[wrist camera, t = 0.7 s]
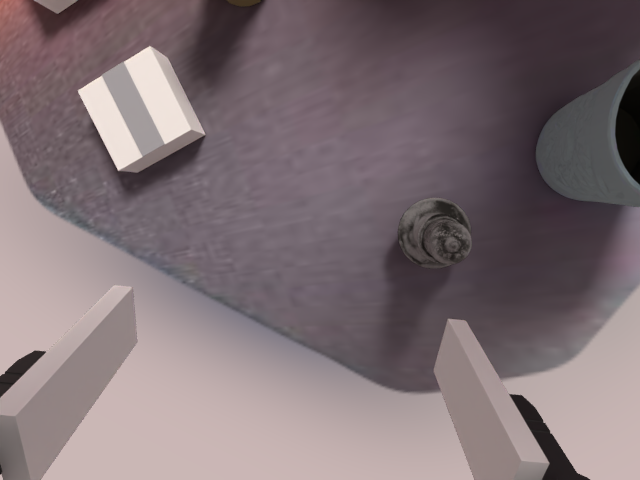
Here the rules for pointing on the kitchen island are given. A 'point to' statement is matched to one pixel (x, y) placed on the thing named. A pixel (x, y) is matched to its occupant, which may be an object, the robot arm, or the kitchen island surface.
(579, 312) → the kitchen island surface
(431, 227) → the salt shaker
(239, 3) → the cork
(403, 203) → the kitchen island surface
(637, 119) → the grey cylindrical cup
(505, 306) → the kitchen island surface
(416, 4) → the kitchen island surface
